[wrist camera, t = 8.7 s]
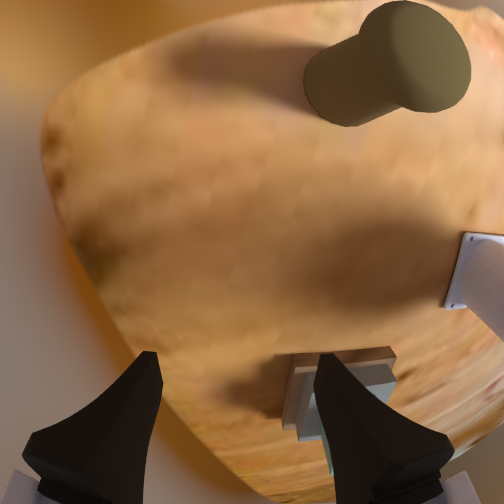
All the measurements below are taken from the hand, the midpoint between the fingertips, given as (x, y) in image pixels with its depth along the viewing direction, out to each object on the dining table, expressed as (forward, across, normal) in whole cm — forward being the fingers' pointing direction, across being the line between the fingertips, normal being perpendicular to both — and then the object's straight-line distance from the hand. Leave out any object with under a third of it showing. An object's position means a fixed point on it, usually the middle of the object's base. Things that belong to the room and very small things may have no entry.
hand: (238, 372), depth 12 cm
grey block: (+9, -10, +13) cm, 18 cm away
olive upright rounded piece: (+11, -7, -14) cm, 19 cm away
